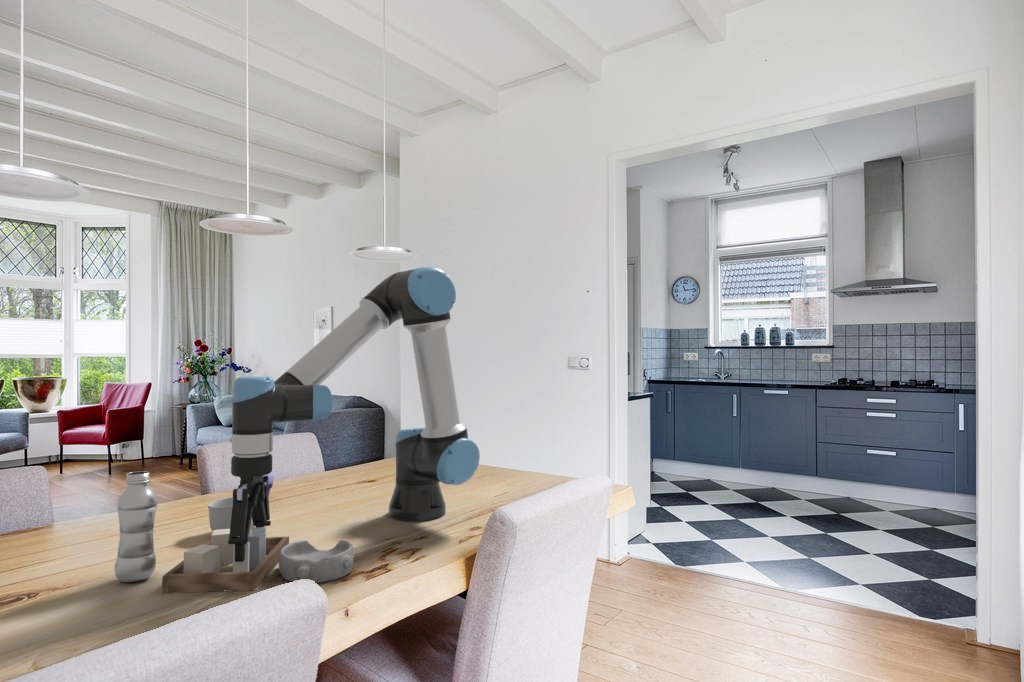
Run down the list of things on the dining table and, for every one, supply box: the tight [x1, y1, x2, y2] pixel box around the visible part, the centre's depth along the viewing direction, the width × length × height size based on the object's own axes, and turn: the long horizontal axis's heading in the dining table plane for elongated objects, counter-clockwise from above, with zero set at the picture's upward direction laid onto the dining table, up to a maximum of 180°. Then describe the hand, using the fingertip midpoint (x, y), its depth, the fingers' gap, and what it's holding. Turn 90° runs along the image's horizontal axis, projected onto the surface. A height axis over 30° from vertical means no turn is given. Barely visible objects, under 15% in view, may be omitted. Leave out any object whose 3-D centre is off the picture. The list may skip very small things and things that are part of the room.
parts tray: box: [161, 535, 290, 594], centre depth 117 cm, size 16×22×3 cm
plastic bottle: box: [113, 470, 159, 583], centre depth 111 cm, size 6×7×20 cm
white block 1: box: [183, 543, 221, 574], centre depth 111 cm, size 4×4×6 cm
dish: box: [278, 539, 355, 584], centre depth 116 cm, size 14×14×5 cm
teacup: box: [207, 496, 255, 532], centre depth 142 cm, size 14×11×8 cm
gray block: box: [238, 530, 267, 572], centre depth 117 cm, size 4×4×7 cm
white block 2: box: [210, 529, 234, 565], centre depth 122 cm, size 4×4×6 cm
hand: (249, 567), depth 117 cm, fingers open, 9 cm apart
